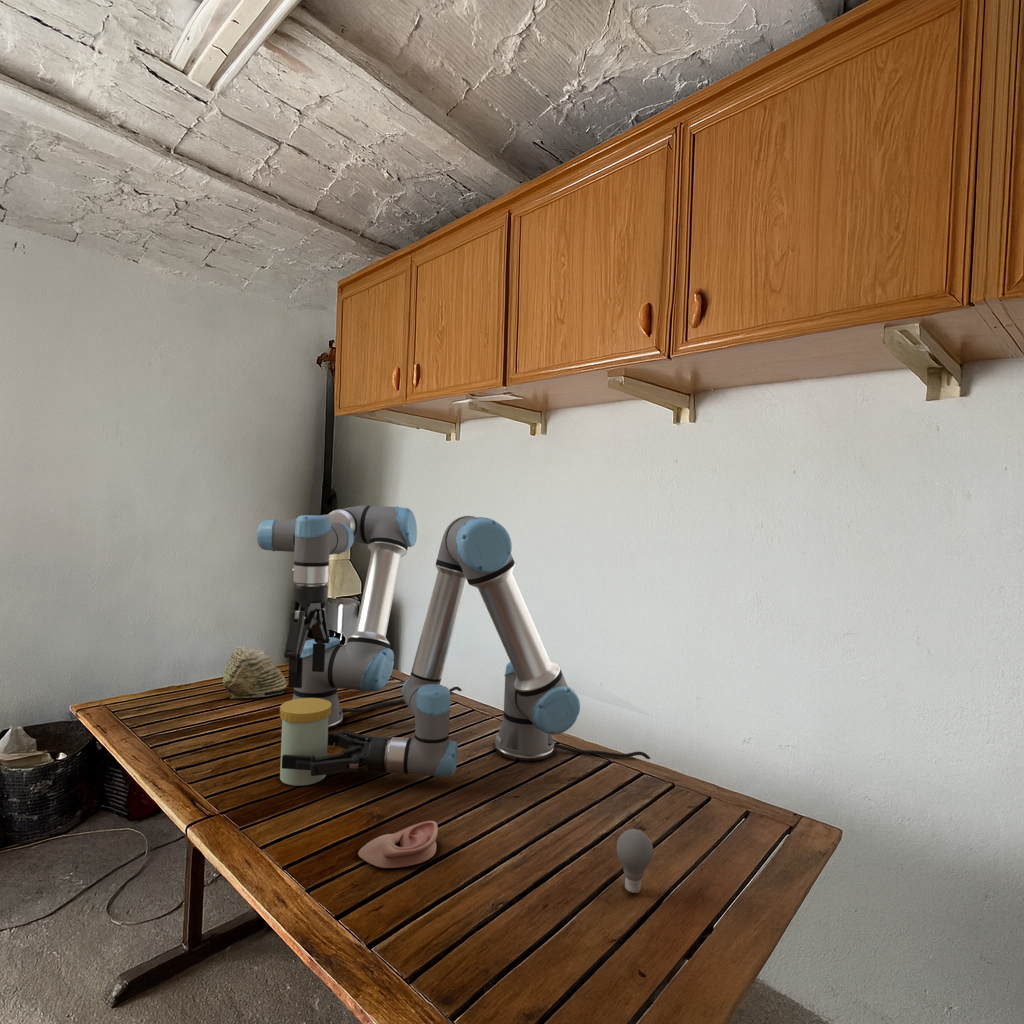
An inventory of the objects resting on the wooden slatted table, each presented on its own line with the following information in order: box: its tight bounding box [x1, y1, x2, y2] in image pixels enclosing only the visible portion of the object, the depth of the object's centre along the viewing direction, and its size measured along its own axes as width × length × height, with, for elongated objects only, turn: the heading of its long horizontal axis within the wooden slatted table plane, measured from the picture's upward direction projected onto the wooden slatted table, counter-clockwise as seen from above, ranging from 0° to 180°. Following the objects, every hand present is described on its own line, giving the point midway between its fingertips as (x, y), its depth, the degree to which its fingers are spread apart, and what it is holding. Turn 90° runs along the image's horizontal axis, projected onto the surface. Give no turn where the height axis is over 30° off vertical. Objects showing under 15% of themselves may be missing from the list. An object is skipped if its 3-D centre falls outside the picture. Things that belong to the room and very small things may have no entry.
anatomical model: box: [357, 820, 439, 869], centre depth 114 cm, size 13×4×12 cm
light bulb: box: [615, 828, 654, 894], centre depth 106 cm, size 6×6×10 cm
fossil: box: [222, 646, 288, 699], centre depth 198 cm, size 9×18×15 cm, turn 132°
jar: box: [279, 716, 329, 787], centre depth 143 cm, size 10×10×16 cm
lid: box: [278, 698, 332, 723], centre depth 143 cm, size 11×11×2 cm
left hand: (307, 679), depth 143 cm, fingers open, 12 cm apart
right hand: (294, 749), depth 143 cm, fingers open, 13 cm apart
